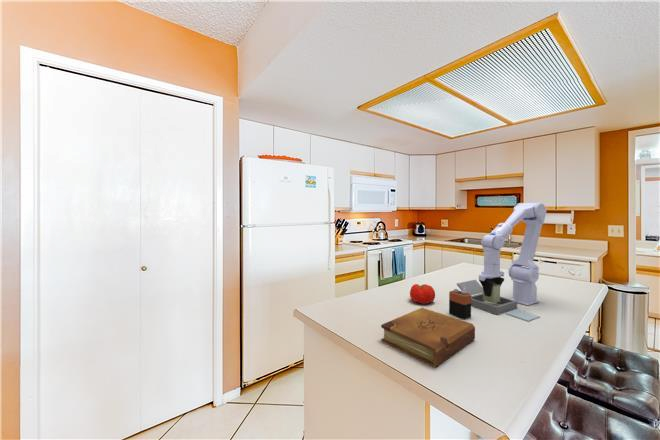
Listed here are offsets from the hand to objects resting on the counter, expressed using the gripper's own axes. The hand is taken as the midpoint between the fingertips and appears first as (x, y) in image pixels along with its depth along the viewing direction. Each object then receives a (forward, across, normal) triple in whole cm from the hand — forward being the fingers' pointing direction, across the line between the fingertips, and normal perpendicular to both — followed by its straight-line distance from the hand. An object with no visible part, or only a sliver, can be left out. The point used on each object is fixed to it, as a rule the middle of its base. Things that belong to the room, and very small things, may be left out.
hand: (491, 295), depth 111 cm
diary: (+5, +46, +8) cm, 47 cm away
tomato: (+5, +21, -18) cm, 28 cm away
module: (+2, 0, 0) cm, 2 cm away
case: (+5, 0, -3) cm, 6 cm away
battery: (+5, +20, 0) cm, 21 cm away
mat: (+5, -1, +12) cm, 13 cm away
